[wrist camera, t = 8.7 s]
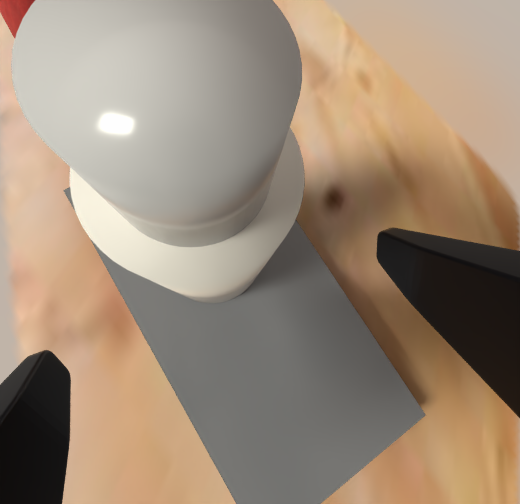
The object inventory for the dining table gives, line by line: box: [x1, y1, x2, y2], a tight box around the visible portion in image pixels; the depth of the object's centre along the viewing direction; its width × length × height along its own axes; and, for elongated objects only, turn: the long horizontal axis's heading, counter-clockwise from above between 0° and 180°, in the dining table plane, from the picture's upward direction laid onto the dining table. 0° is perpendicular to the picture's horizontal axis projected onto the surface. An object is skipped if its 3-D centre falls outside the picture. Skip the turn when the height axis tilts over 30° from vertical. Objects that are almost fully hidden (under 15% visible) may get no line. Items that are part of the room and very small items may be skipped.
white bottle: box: [11, 0, 305, 304], centre depth 10 cm, size 5×5×12 cm
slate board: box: [64, 187, 425, 504], centre depth 16 cm, size 20×10×1 cm, turn 32°
